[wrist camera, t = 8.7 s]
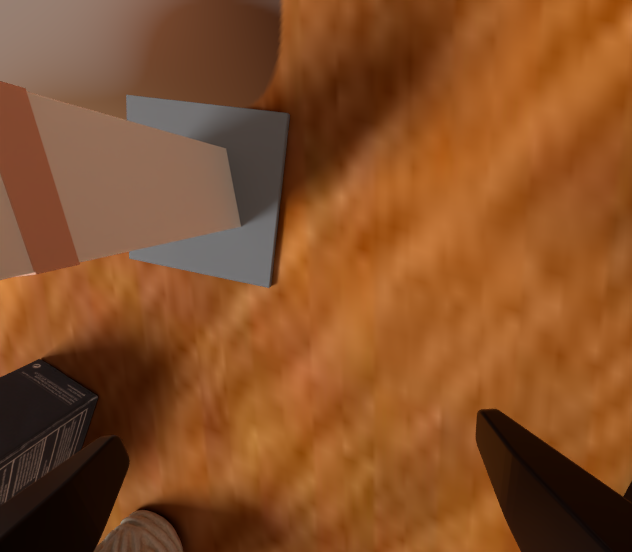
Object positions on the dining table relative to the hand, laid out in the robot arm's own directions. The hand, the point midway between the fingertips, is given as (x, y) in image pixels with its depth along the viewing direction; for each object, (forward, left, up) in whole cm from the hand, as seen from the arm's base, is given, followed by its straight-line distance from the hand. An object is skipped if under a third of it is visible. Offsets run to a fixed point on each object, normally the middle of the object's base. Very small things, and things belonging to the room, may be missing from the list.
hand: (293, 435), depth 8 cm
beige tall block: (+10, -4, -12) cm, 16 cm away
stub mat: (+10, -4, -12) cm, 16 cm away
